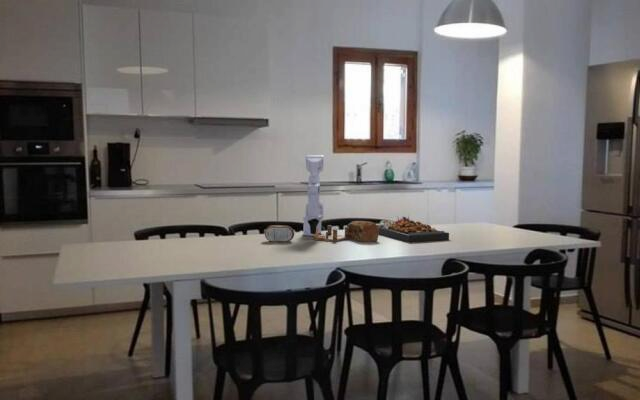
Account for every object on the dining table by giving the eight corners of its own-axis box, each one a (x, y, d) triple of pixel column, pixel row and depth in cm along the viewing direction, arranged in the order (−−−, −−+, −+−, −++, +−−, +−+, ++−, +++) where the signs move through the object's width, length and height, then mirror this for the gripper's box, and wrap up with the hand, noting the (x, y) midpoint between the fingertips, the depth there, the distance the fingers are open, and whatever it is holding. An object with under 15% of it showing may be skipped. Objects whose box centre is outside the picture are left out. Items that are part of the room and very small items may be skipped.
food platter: (367, 232, 321) (367, 214, 320) (403, 230, 330) (403, 213, 329) (408, 244, 279) (409, 223, 278) (448, 241, 289) (449, 221, 288)
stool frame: (313, 239, 289) (313, 227, 288) (328, 236, 300) (328, 225, 300) (335, 242, 281) (335, 230, 280) (350, 238, 292) (350, 227, 292)
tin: (294, 241, 283) (294, 225, 282) (293, 242, 279) (293, 226, 279) (265, 241, 284) (265, 224, 283) (264, 242, 281) (264, 225, 280)
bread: (379, 241, 283) (379, 222, 282) (360, 242, 279) (360, 223, 279) (363, 236, 301) (363, 218, 300) (345, 237, 297) (345, 219, 296)
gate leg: (325, 237, 287) (325, 227, 287) (324, 237, 285) (324, 228, 284) (314, 236, 288) (314, 227, 288) (313, 237, 286) (313, 227, 286)
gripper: (311, 209, 277) (311, 235, 278) (328, 207, 288) (327, 232, 289) (300, 208, 281) (300, 234, 282) (317, 206, 293) (316, 231, 294)
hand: (313, 233), depth 286 cm, fingers closed, pressing on gate leg
